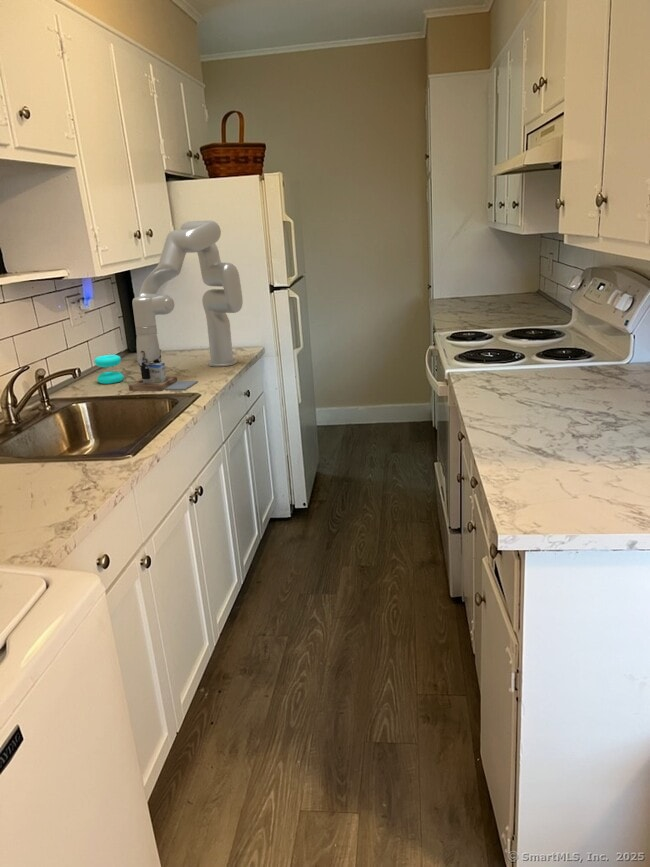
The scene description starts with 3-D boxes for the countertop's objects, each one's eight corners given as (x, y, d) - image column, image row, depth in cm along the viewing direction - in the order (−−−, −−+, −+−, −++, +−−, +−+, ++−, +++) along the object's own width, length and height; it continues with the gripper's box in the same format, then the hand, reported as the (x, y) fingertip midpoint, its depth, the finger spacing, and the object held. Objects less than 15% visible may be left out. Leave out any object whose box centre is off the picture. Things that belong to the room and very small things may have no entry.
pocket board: (146, 381, 255) (145, 376, 255) (177, 381, 253) (176, 376, 252) (129, 390, 242) (128, 385, 242) (161, 390, 240) (160, 385, 239)
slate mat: (178, 382, 251) (178, 380, 251) (197, 382, 250) (197, 380, 250) (165, 390, 240) (165, 388, 240) (185, 390, 239) (185, 388, 238)
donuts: (98, 360, 248) (90, 356, 256) (102, 386, 251) (94, 381, 259) (124, 356, 253) (115, 353, 261) (127, 381, 257) (119, 377, 264)
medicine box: (143, 387, 246) (140, 365, 243) (147, 384, 250) (144, 362, 247) (163, 387, 245) (160, 364, 242) (167, 384, 249) (164, 362, 247)
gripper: (147, 327, 249) (153, 370, 255) (125, 334, 233) (132, 381, 239) (165, 326, 248) (171, 370, 253) (145, 334, 232) (151, 381, 237)
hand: (152, 375), depth 246 cm, fingers open, 9 cm apart
